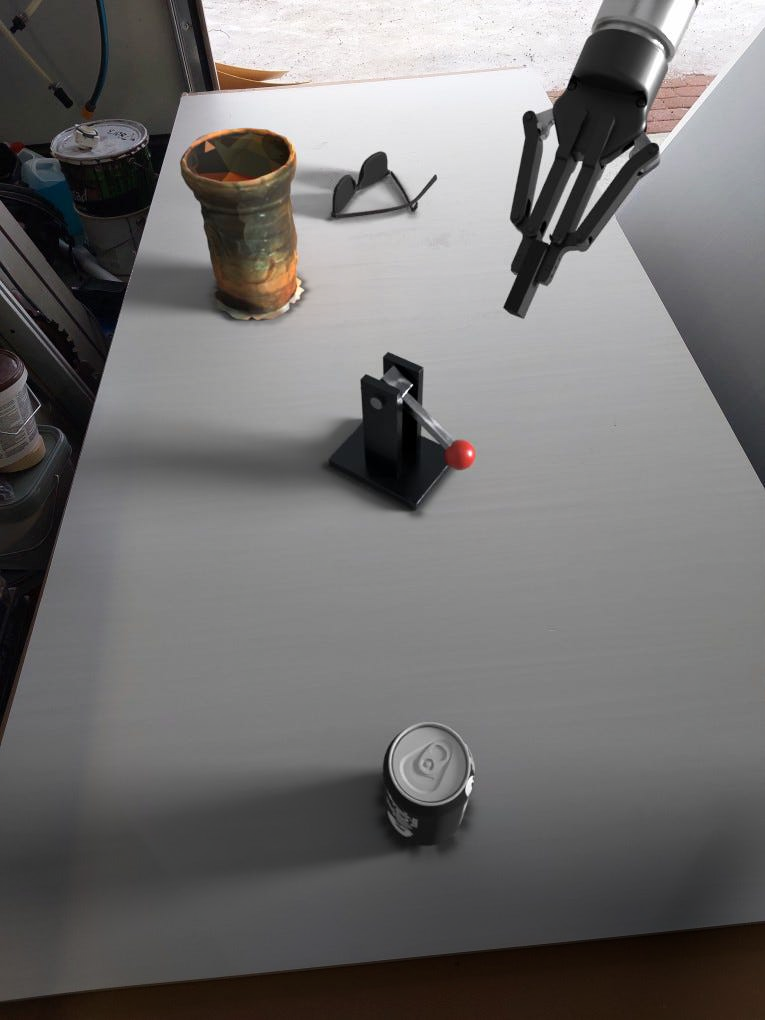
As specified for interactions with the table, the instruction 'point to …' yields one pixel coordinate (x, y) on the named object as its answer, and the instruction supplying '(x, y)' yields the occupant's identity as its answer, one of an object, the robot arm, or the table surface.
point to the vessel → (247, 218)
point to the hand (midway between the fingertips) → (513, 313)
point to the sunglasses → (369, 175)
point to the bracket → (392, 441)
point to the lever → (432, 424)
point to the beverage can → (427, 782)
